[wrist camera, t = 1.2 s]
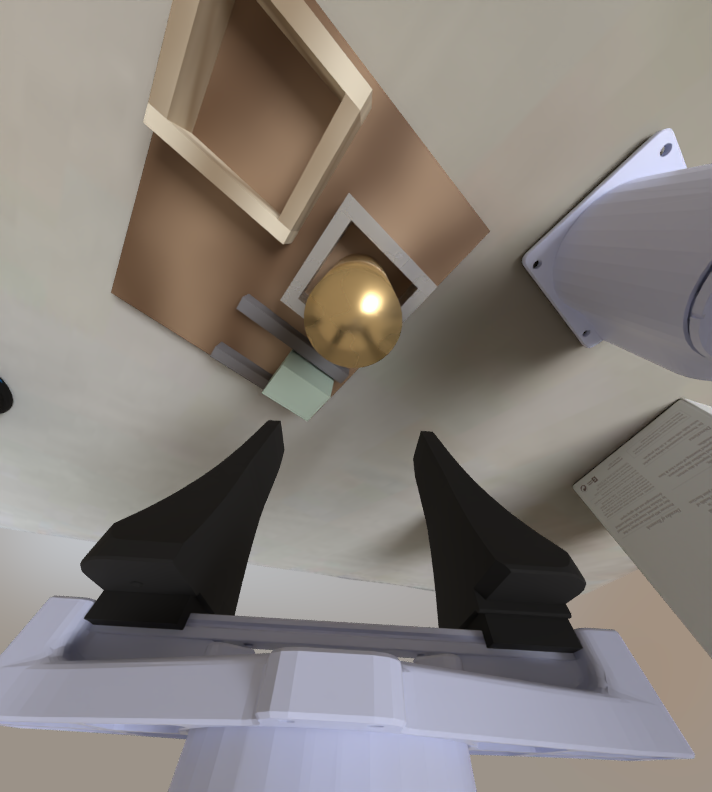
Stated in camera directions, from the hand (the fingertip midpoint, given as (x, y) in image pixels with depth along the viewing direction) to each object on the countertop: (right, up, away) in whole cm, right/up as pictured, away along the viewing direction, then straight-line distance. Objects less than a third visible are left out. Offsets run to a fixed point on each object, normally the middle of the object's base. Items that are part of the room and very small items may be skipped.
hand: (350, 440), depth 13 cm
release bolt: (-4, +4, +8) cm, 10 cm away
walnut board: (-4, +11, +4) cm, 13 cm away
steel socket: (0, +10, +4) cm, 10 cm away
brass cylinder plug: (0, +10, +4) cm, 10 cm away
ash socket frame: (-4, +16, 0) cm, 17 cm away
